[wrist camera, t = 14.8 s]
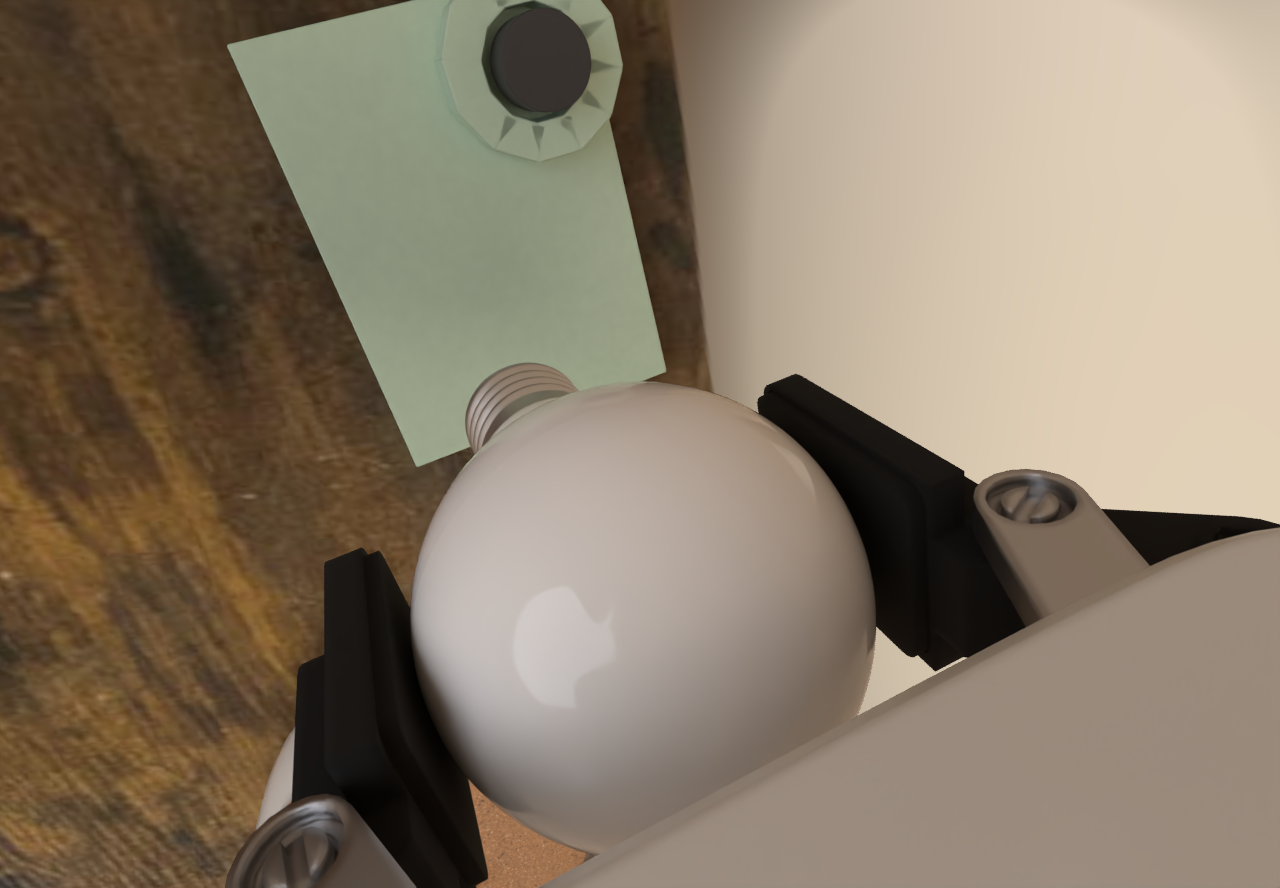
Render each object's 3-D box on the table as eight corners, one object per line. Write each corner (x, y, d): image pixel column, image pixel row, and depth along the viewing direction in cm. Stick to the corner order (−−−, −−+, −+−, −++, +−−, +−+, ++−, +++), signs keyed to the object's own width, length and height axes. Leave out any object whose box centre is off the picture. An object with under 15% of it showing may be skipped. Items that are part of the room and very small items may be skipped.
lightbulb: (692, 381, 18) (1065, 665, 9) (533, 567, 19) (734, 1015, 10) (499, 208, 15) (785, 383, 6) (311, 441, 16) (295, 945, 6)
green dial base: (225, 35, 22) (213, 26, 20) (568, -46, 25) (596, -63, 22) (413, 453, 30) (421, 486, 27) (661, 359, 32) (690, 381, 30)
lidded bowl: (505, 560, 34) (573, 737, 24) (560, 744, 40) (632, 942, 30) (212, 663, 30) (162, 912, 21) (321, 846, 36) (319, 1103, 27)
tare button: (477, 25, 22) (488, 19, 21) (562, 4, 23) (578, -3, 21) (505, 121, 24) (518, 123, 22) (584, 99, 24) (601, 99, 23)
